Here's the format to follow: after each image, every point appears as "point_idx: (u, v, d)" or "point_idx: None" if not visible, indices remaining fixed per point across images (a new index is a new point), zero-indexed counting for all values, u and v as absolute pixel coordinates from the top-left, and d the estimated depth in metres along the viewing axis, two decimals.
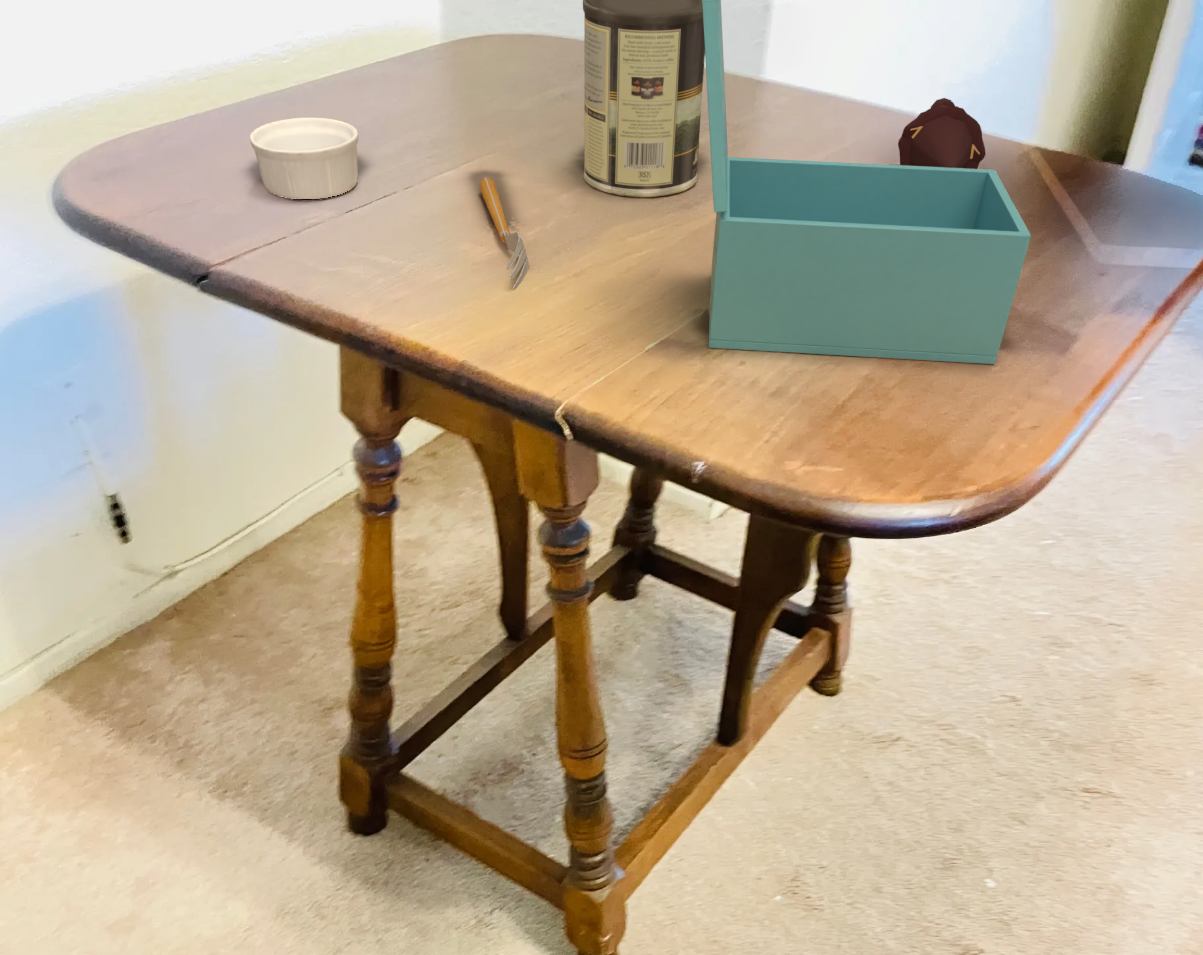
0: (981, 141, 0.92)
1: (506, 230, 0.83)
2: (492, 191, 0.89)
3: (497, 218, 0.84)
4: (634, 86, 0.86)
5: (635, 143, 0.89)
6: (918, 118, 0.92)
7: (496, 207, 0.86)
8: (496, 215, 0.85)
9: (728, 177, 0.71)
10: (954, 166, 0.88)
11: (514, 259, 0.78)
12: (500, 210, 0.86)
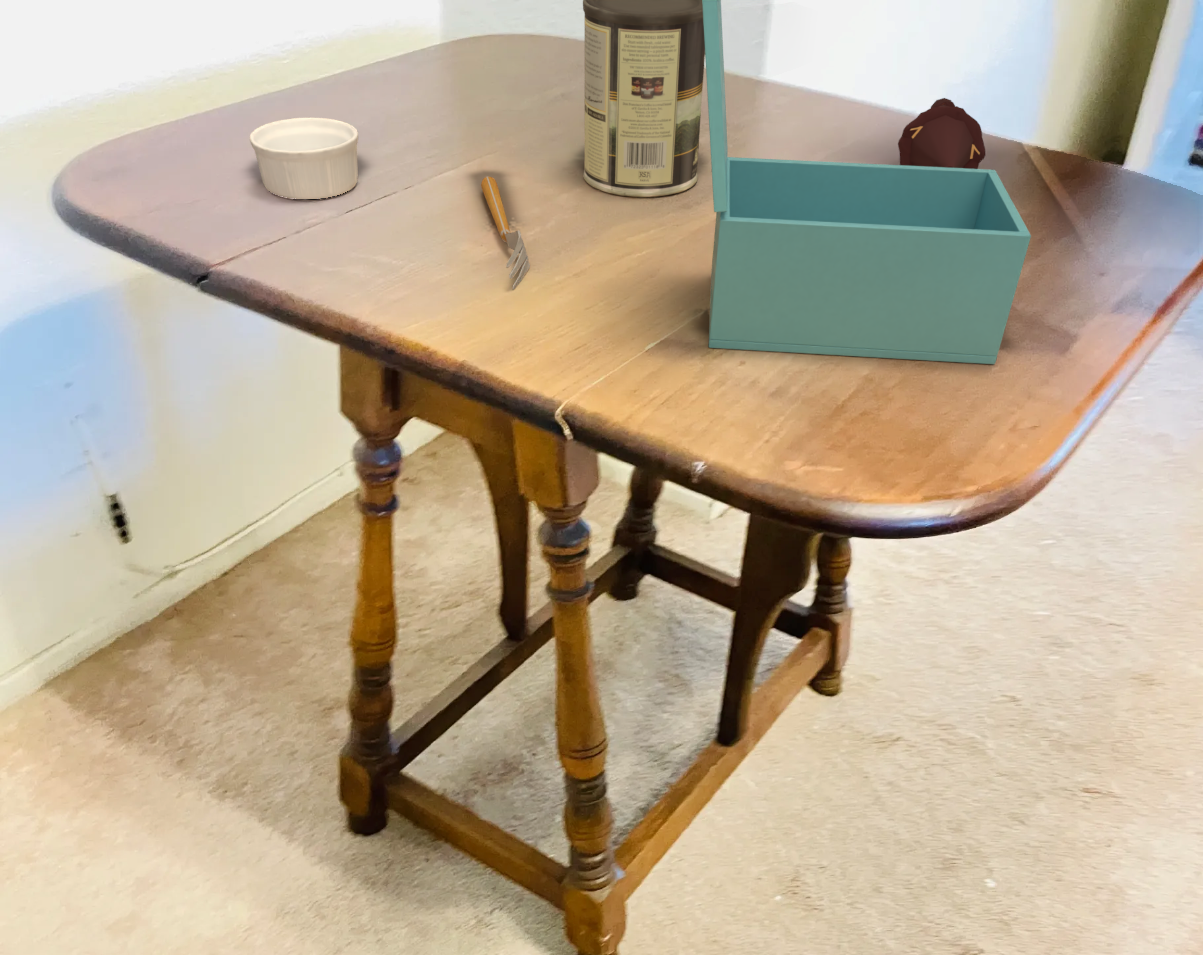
0: (981, 141, 0.92)
1: (507, 229, 0.83)
2: (493, 189, 0.89)
3: (498, 217, 0.84)
4: (634, 86, 0.86)
5: (635, 143, 0.89)
6: (918, 118, 0.92)
7: (497, 206, 0.86)
8: (497, 214, 0.85)
9: (728, 177, 0.71)
10: (954, 166, 0.88)
11: (514, 258, 0.77)
12: (501, 209, 0.86)
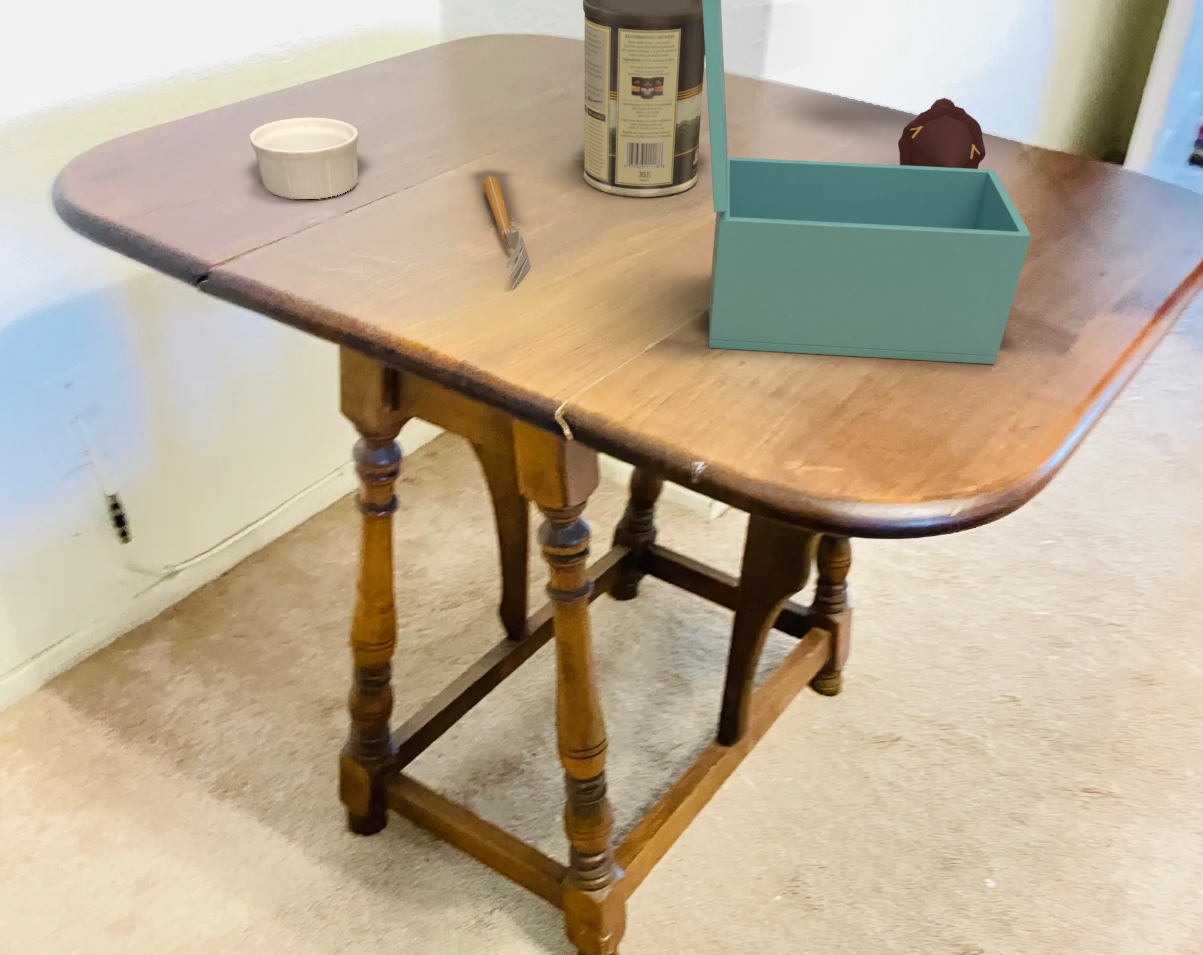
0: (981, 141, 0.92)
1: (508, 229, 0.83)
2: (495, 189, 0.89)
3: (499, 217, 0.84)
4: (634, 86, 0.86)
5: (635, 143, 0.89)
6: (918, 118, 0.92)
7: (498, 205, 0.86)
8: (498, 214, 0.85)
9: (728, 177, 0.71)
10: (954, 166, 0.88)
11: (514, 258, 0.77)
12: (503, 209, 0.86)
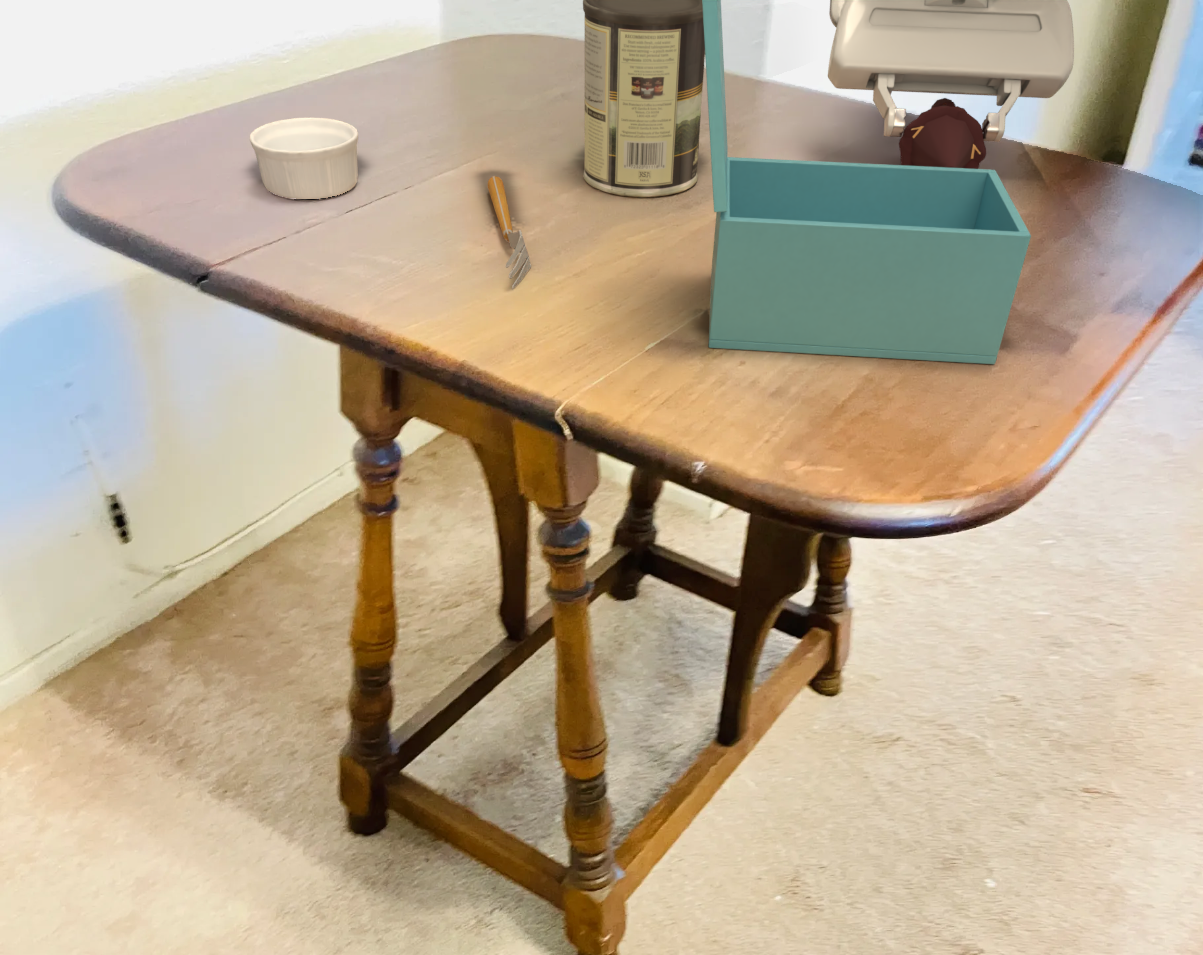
0: (982, 141, 0.92)
1: (509, 229, 0.83)
2: (499, 189, 0.89)
3: (501, 217, 0.84)
4: (634, 86, 0.86)
5: (635, 143, 0.89)
6: (919, 118, 0.92)
7: (501, 205, 0.86)
8: (501, 214, 0.85)
9: (728, 177, 0.71)
10: (955, 166, 0.88)
11: (514, 258, 0.77)
12: (505, 209, 0.86)
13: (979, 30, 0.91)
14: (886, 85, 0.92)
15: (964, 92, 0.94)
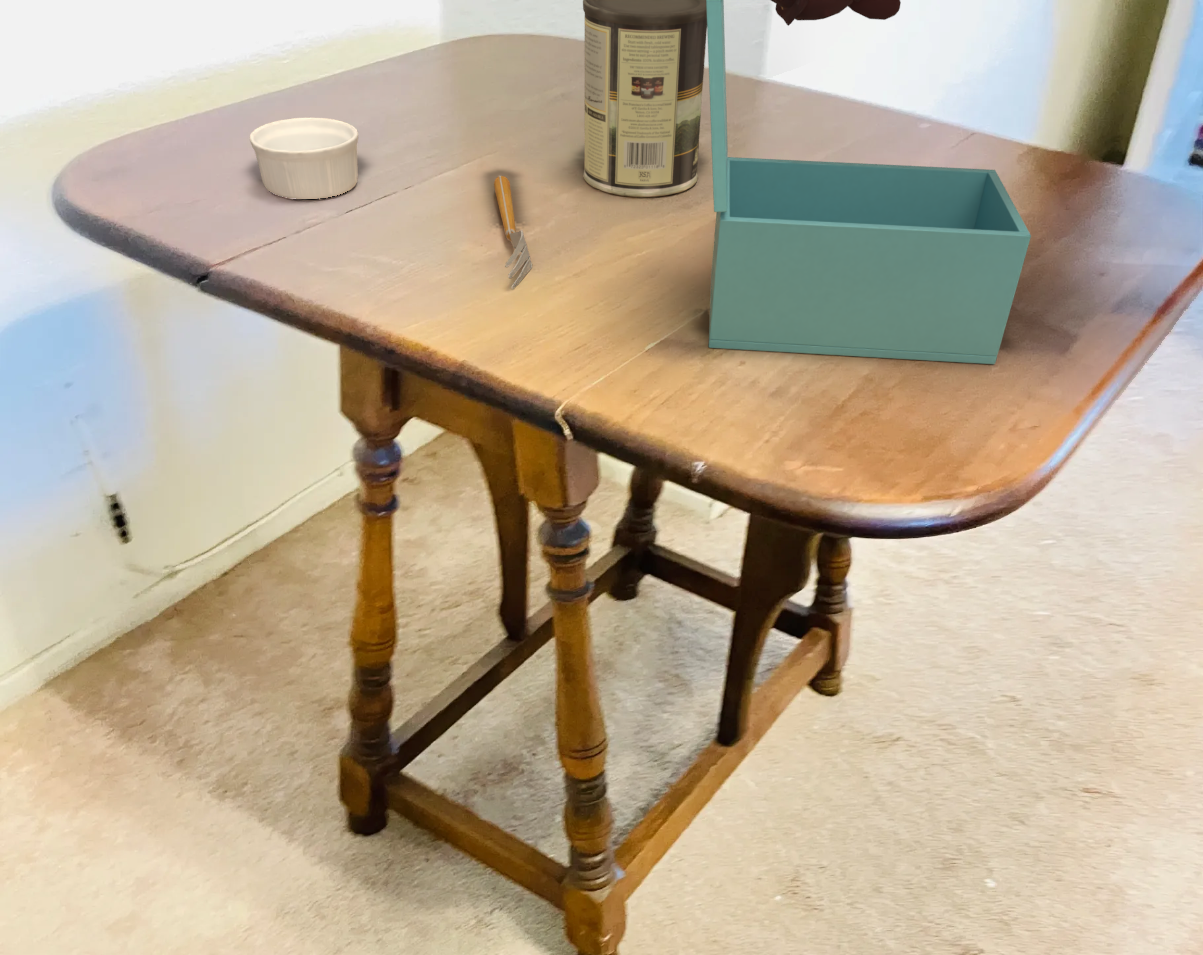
0: None
1: (512, 228, 0.83)
2: (504, 189, 0.89)
3: (505, 217, 0.84)
4: (634, 86, 0.86)
5: (635, 143, 0.89)
6: None
7: (505, 205, 0.86)
8: (504, 213, 0.85)
9: (728, 177, 0.71)
10: None
11: (514, 258, 0.78)
12: (509, 208, 0.86)
13: None
14: None
15: None
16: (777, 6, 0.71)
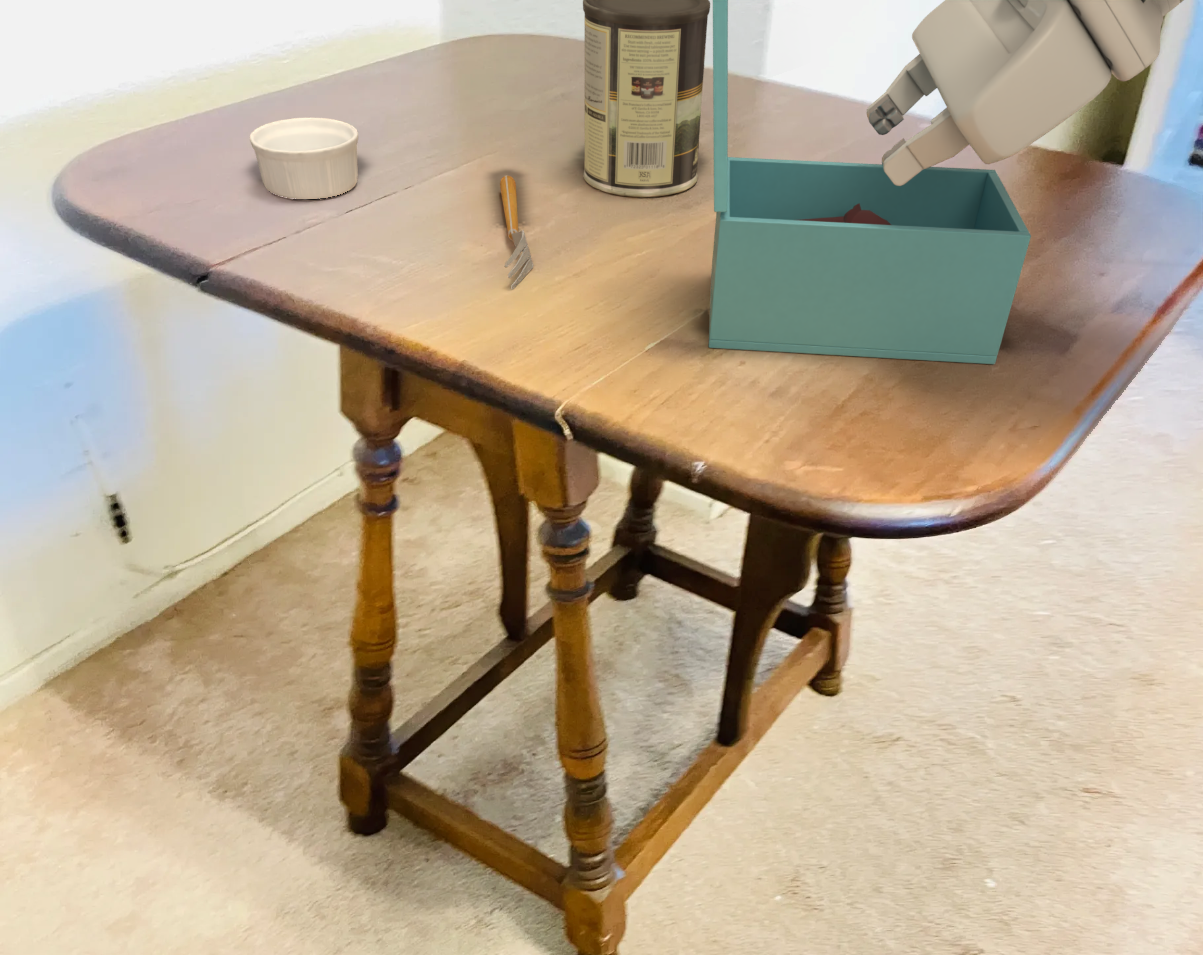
0: None
1: (514, 228, 0.83)
2: (509, 189, 0.89)
3: (508, 217, 0.85)
4: (634, 86, 0.86)
5: (635, 143, 0.89)
6: None
7: (509, 205, 0.86)
8: (508, 213, 0.85)
9: (728, 177, 0.71)
10: None
11: (514, 257, 0.78)
12: (513, 208, 0.86)
13: (990, 32, 0.61)
14: (908, 67, 0.70)
15: None
16: None
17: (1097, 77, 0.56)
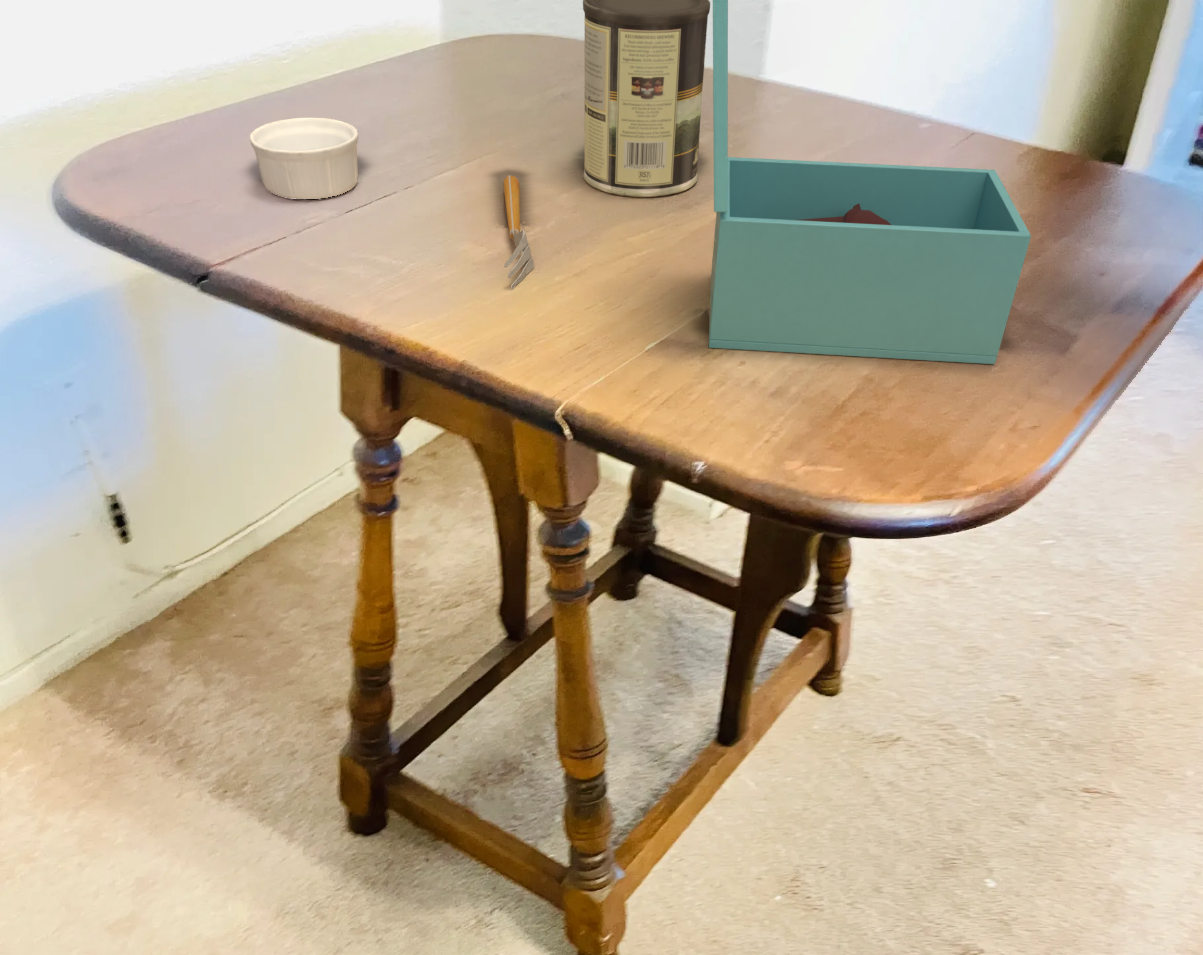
0: None
1: (516, 228, 0.83)
2: (512, 189, 0.89)
3: (510, 217, 0.85)
4: (634, 86, 0.86)
5: (635, 143, 0.89)
6: None
7: (512, 205, 0.86)
8: (510, 213, 0.85)
9: (728, 177, 0.71)
10: None
11: (514, 257, 0.78)
12: (515, 208, 0.86)
13: None
14: None
15: None
16: None
17: None
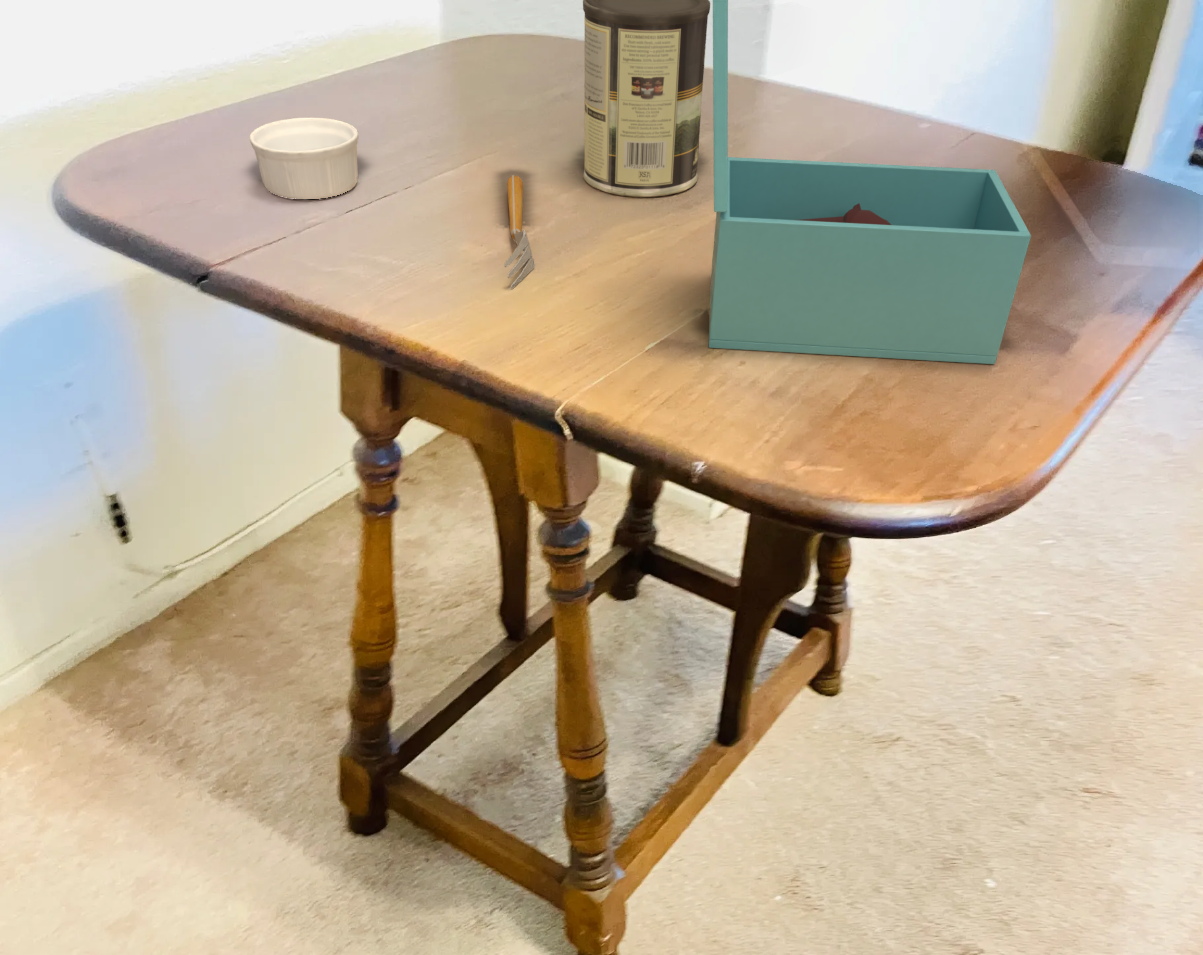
0: None
1: (517, 228, 0.83)
2: (515, 189, 0.89)
3: (512, 216, 0.85)
4: (634, 86, 0.86)
5: (635, 143, 0.89)
6: None
7: (514, 205, 0.86)
8: (512, 213, 0.85)
9: (728, 177, 0.71)
10: None
11: (514, 257, 0.78)
12: (518, 208, 0.86)
13: None
14: None
15: None
16: None
17: None
